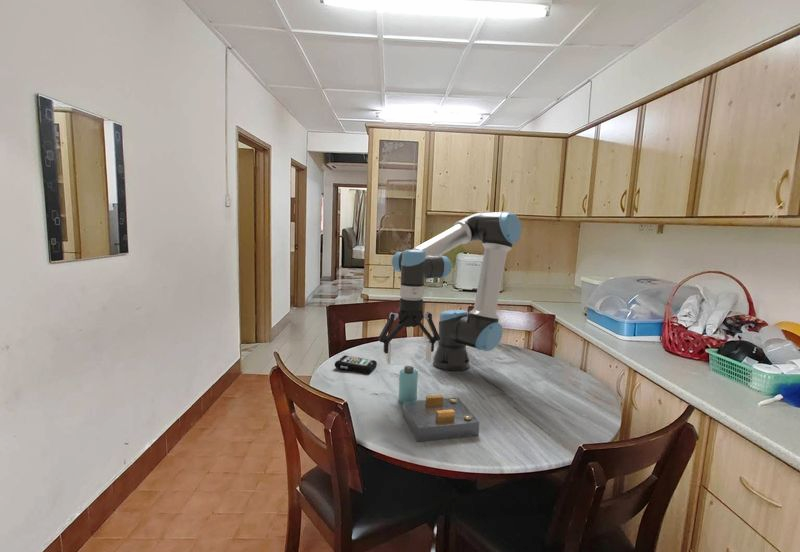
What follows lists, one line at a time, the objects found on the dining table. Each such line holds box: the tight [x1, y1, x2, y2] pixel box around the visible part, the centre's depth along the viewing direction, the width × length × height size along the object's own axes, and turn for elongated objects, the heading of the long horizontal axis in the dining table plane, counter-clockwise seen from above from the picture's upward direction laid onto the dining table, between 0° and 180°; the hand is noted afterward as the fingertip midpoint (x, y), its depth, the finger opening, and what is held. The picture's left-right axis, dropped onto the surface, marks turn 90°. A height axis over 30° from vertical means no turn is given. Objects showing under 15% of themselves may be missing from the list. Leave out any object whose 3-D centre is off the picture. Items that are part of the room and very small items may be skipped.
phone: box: [334, 355, 378, 375], centre depth 162 cm, size 11×15×4 cm
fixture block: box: [402, 394, 480, 443], centre depth 119 cm, size 18×16×6 cm
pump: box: [398, 365, 419, 405], centre depth 134 cm, size 6×6×12 cm
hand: (408, 361), depth 132 cm, fingers open, 13 cm apart
